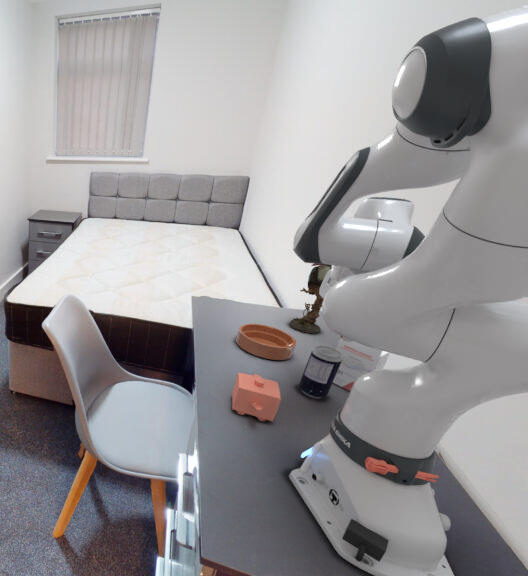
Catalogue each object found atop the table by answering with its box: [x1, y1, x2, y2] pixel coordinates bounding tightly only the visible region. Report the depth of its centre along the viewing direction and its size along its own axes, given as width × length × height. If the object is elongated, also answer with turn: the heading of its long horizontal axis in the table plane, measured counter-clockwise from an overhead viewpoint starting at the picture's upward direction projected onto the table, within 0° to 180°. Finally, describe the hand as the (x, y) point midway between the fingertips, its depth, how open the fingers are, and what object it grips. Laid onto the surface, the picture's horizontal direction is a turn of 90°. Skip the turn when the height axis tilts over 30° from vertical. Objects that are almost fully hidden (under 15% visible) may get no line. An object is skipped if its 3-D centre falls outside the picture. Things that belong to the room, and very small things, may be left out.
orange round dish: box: [235, 323, 297, 361], centre depth 109 cm, size 14×14×4 cm
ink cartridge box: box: [332, 337, 391, 392], centre depth 91 cm, size 9×5×15 cm, turn 25°
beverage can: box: [298, 345, 342, 399], centre depth 89 cm, size 6×6×12 cm
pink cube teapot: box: [231, 371, 282, 422], centre depth 83 cm, size 8×12×8 cm, turn 152°
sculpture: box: [288, 263, 333, 335], centre depth 117 cm, size 8×14×25 cm, turn 126°
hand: (336, 329), depth 84 cm, fingers open, 8 cm apart
